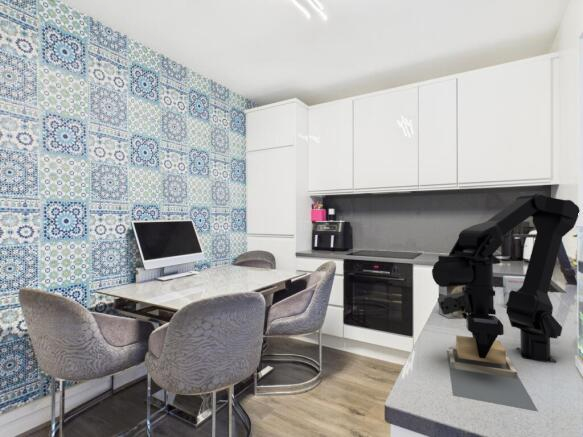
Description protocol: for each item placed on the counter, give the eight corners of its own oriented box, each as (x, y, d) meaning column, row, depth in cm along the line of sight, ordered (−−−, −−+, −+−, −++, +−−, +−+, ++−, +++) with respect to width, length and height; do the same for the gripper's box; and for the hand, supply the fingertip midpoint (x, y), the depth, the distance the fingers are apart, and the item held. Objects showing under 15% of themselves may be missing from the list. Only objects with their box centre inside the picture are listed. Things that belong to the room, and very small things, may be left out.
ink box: (530, 307, 117) (529, 276, 117) (534, 311, 113) (533, 278, 113) (502, 305, 121) (502, 275, 121) (505, 309, 116) (505, 277, 116)
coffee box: (447, 318, 106) (446, 271, 106) (438, 313, 112) (437, 268, 112) (474, 318, 106) (473, 270, 106) (463, 312, 112) (462, 268, 113)
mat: (446, 352, 79) (446, 350, 79) (508, 361, 74) (508, 358, 74) (453, 398, 59) (453, 395, 59) (538, 414, 53) (538, 411, 53)
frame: (448, 352, 78) (448, 347, 78) (507, 360, 73) (507, 355, 73) (451, 368, 69) (451, 362, 69) (517, 378, 64) (517, 372, 65)
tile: (500, 353, 72) (499, 340, 72) (506, 364, 67) (505, 350, 67) (456, 347, 76) (456, 335, 76) (458, 357, 70) (458, 344, 70)
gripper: (438, 275, 83) (439, 333, 83) (440, 289, 66) (442, 363, 66) (487, 277, 79) (488, 339, 79) (503, 293, 62) (505, 373, 61)
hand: (479, 352), depth 71 cm, fingers closed on tile, 6 cm apart
